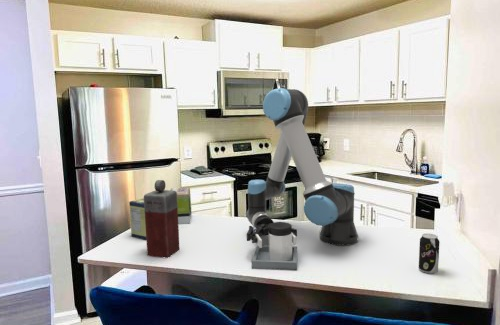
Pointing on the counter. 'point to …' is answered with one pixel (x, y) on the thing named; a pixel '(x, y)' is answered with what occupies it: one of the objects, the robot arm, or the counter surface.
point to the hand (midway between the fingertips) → (278, 242)
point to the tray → (264, 262)
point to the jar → (280, 241)
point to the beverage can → (429, 253)
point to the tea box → (183, 205)
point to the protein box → (137, 218)
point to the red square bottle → (161, 221)
